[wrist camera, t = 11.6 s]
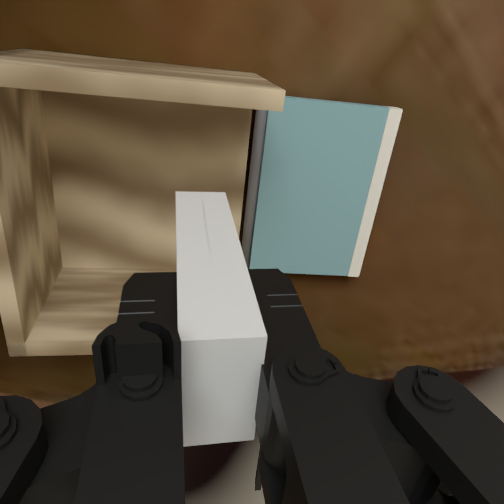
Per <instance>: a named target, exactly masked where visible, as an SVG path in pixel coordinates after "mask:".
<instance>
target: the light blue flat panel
mask: <svg viewBox="0 0 504 504" xmlns="http://www.w3.org/2000/svg"><path fill="white" fill-rule="evenodd" d="M402 111H403V109H400V108H398V107H389V106H378V105H368V104H359V103H349V102H340V101H330V100H320V99H311V98H301V97H291V96H285V99H284V107H283V112H279V111H268V110H257V109H256V114H255V124H254V133H253V142H252V152H251V161H250V171H249V180H248V189H247V199H246V208H245V218H244V227H243V236H242V246H241V248H242V251H243V255H244V258H245V261H246V265H247V268H248V269H276V268H278V269H279V270H280V271H281V272H283V273H294V274H316V275H338V276H349V277H359V274H360V271H361V267H362V263H363V259H364V255H365V252H366V248H367V244H368V240H369V236H370V233H371V229H372V225H373V221H374V217H375V214H376V210H377V206H378V202H379V198H380V195H381V191H382V187H383V183H384V180H385V176H386V172H387V168H388V164H389V161H390V157H391V153H392V149H393V145H394V142H395V138H396V134H397V130H398V126H399V123H400V119H401V115H402Z"/></svg>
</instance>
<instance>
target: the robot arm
mask: <svg viewBox="0 0 504 504" xmlns="http://www.w3.org/2000/svg"><path fill="white" fill-rule="evenodd" d="M175 192H176V272H144V273H134V274H133V275H132V276H131V277H130V278H129V279H128V280H127V282H126V283H125V284H124V285H123V289H122V294H121V303H120V306H119V311H118V317H117V322H116V323H113V324H111V325H109V326H108V327H106V328H105V329H104V330H103V331H102V332H100V333H99V334H98V335H97V337H96V339H95V341H94V342H93V344H92V346H91V347H92V353H93V360H94V367H95V374H96V381H97V383H96V384H95V385H94V386H92V387H91V388H90V389H88V390H87V391H85V392H83V393H82V394H80V395H78V396H75V397H73V398H71V399H68V400H65V401H62V402H59V403H56V404H53V405H50V406H47V407H44V408H41V409H40V408H39V407H38V406H37V405H35V403H34V402H33V401H32V400H30V399H27V398H24V397H20V396H17V395H13V396H0V504H185V484H184V452H183V451H184V449H183V447H184V446H194V445H204V444H215V443H224V442H234V441H235V442H236V441H246V440H254V435H255V428H256V426H257V431H258V436H259V441H260V451H259V457H258V464H257V471H256V478H255V490H261V484H262V488H263V494H264V498H265V504H504V423H503V422H502V421H501V420H500V419H499V418H498V417H497V416H496V415H495V414H493V413H492V412H491V411H490V410H489V409H488V408H487V407H486V406H485V405H484V404H483V403H482V402H481V401H479V400H478V399H477V398H476V397H475V396H474V395H473V394H472V393H471V392H470V391H469V390H468V389H466V388H465V387H464V386H463V385H462V384H461V383H459V382H458V381H457V380H455V379H454V378H453V377H451V376H450V375H448V374H446V373H444V372H442V371H439V370H437V369H435V368H431V367H426V366H420V365H417V366H408V367H405V368H403V369H402V370H400V371H398V372H397V374H396V376H395V378H394V381H393V383H392V382H387V381H382V380H377V379H372V378H366V377H362V376H358V375H355V374H352V373H349V372H347V371H346V370H345V368H344V366H343V365H342V364H341V362H340V361H339V360H338V358H336V357H335V356H333V355H332V354H331V353H329V352H328V351H326V350H324V349H321V347H320V345H319V342H318V340H317V338H316V336H315V333H314V331H313V329H312V327H311V324H310V322H309V320H308V317H307V315H306V313H305V311H304V308H303V307H302V306H301V302H300V299H299V297H298V295H297V293H296V290H295V288H294V286H293V284H292V281H291V279H289V278H288V277H287V276H286V275H285V274H284V273H283V272H281V271H280V270H279V269H278V268H276V269H248V268H247V265H246V261H245V258H244V255H243V251H242V248H241V244H240V241H239V238H238V234H237V231H236V227H235V224H234V220H233V217H232V214H231V210H230V207H229V203H228V200H227V197H226V193H225V192H182V191H175Z"/></svg>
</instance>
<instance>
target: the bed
mask: <svg viewBox="0 0 504 504" xmlns="http://www.w3.org/2000/svg"><path fill="white" fill-rule="evenodd" d="M285 92H286V91H285V90H283V89H282V88H280V87H278V86H276V85H275V84H273V83H271V82H269V81H268V80H266V79H264V78H262V77H261V76H259V75H257V74H255V73H251V72H242V71H232V70H223V69H213V68H204V67H194V66H185V65H176V64H166V63H157V62H147V61H138V60H128V59H119V58H109V57H100V56H90V55H81V54H71V53H62V52H52V51H43V50H34V49H24V48H23V49H14V50H5V51H0V314H1V319H2V324H3V329H4V333H5V338H6V343H7V347H8V352H9V357H10V356H56V355H93V353H92V347H91V346H92V344H93V342H94V341H95V339H96V337H97V335H98V334H99V333H100V332H102V331H103V330H104V329H105V328H106V327H108V326H109V325H111V324H113V323H116V322H117V317H118V311H119V306H120V303H121V294H122V289H123V285H124V284H125V283H126V282H127V280H128V279H129V278H130V277H131V276H132V275H133V274H134V273H144V272H176V192H175V191H182V192H225V193H226V197H227V200H228V203H229V207H230V210H231V214H232V217H233V220H234V224H235V227H236V231H237V234H238V238H239V234H240V224H241V214H242V204H243V195H244V185H245V175H246V165H247V156H248V146H249V136H250V126H251V117H252V109H257V110H268V111H279V112H283V107H284V99H285Z"/></svg>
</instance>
